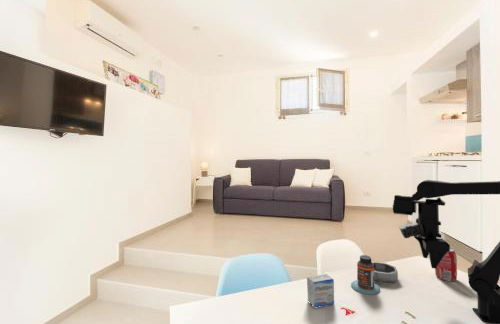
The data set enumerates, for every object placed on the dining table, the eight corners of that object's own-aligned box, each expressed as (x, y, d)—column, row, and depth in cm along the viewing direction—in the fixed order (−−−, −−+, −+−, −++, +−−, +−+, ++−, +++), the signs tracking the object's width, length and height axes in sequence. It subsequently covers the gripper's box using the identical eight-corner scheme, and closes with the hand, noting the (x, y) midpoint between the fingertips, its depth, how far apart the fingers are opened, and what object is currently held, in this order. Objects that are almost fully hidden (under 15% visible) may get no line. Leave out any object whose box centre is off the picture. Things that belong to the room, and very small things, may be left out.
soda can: (449, 274, 104) (448, 245, 104) (461, 282, 97) (461, 251, 97) (431, 274, 105) (430, 245, 105) (442, 282, 98) (441, 251, 98)
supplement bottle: (355, 287, 95) (354, 257, 95) (360, 281, 99) (359, 252, 99) (371, 292, 91) (371, 261, 91) (376, 286, 95) (376, 256, 95)
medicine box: (313, 308, 82) (313, 282, 82) (307, 301, 87) (306, 276, 87) (334, 304, 84) (334, 278, 84) (327, 297, 89) (326, 273, 89)
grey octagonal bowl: (399, 285, 96) (399, 275, 96) (368, 281, 100) (368, 271, 100) (394, 273, 106) (394, 264, 106) (366, 270, 110) (366, 261, 110)
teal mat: (381, 296, 89) (381, 295, 89) (351, 291, 92) (351, 290, 92) (378, 283, 98) (378, 282, 98) (350, 279, 102) (350, 278, 102)
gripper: (396, 210, 97) (396, 250, 97) (407, 221, 79) (408, 270, 79) (430, 212, 93) (431, 254, 93) (450, 224, 75) (451, 275, 75)
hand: (429, 262), depth 85 cm, fingers open, 9 cm apart
